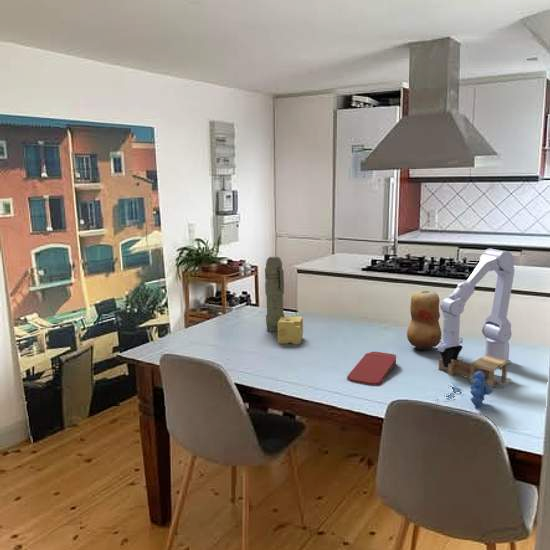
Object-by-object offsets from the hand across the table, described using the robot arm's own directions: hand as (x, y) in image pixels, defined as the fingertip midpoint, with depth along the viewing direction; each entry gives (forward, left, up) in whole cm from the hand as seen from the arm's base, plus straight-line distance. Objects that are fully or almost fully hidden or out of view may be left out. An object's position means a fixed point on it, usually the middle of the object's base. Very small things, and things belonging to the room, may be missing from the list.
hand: (449, 365), depth 199 cm
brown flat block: (0, +19, -2) cm, 19 cm away
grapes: (+22, +23, -2) cm, 32 cm away
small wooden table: (0, +15, -2) cm, 15 cm away
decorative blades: (+19, +11, -3) cm, 22 cm away
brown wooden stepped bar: (0, +6, -2) cm, 6 cm away
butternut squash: (-16, -20, -2) cm, 26 cm away
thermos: (+5, -88, -2) cm, 88 cm away
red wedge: (+20, -20, -3) cm, 28 cm away
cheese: (+13, -70, -2) cm, 72 cm away
